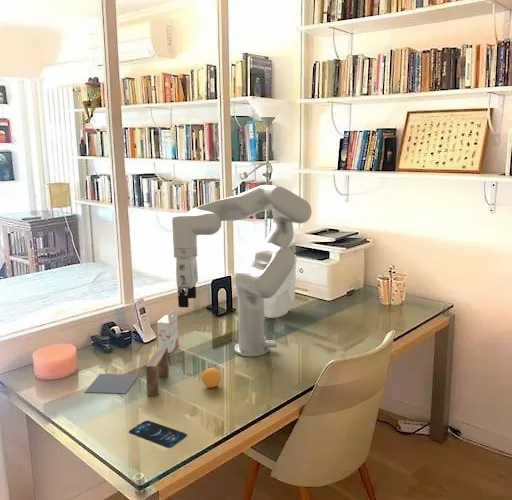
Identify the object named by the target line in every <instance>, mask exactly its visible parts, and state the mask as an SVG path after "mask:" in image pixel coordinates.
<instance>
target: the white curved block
mask: <svg viewBox="0 0 512 500" xmlns="http://www.w3.org/2000/svg"><path fill="white" fill-rule="evenodd" d="M294 255H295V263H294V267H293V269H292V271H291V272H290V274H289V275H288V277H287V278H286V280H285V281H284V283H283V284H282V285H281V287H280V288H279V290H278V291H277V292H276V293H275V294H274V295H273V296H272V297H270V298H263V299H264V318H265V317H266V318H269V319H275V318H279V317H283V316H285V315H287V314H288V312H289V310H290V309H291V308H290V307H291V305H292V303H293V301H295V296H296V295H295V293H296V269H297V254H294ZM249 266H254V267H257V268H260V269H263V270H265V268H262V267H260V266H259V265H258V264H257V263H256V262H255V255H253V257H252V259H251V261H250V264H249ZM232 289H233V291H234V292H235V294H237V291H236V286H235V285H234V286H233V288H232Z"/></svg>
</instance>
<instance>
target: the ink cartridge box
mask: <svg viewBox="0 0 512 500" xmlns="http://www.w3.org/2000/svg"><path fill="white" fill-rule="evenodd" d="M156 326H157V342H158V347H168V354H171V353H172V352H173V351H174V350H175V349H176V347H178V346H179V332H178V330H179V328H178V327H179V326H178V313H177V308H175V307H174V309H173V310H171V311H170V312H169V313H168V314H165V315H164V316H162V317H161V318H160V319H159V320H158V321H157V322H156Z"/></svg>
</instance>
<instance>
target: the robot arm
mask: <svg viewBox="0 0 512 500" xmlns="http://www.w3.org/2000/svg"><path fill="white" fill-rule="evenodd" d="M266 210H269V211H270V210H271V213H272V221H273V224H272V228H271V230H270V232H269V234H268V235H267V236H266V238H265V239H264V240H263V241H262V243H261V245H260V246H259V247H258V249H257V251H256V252H255V254H254V256H255V262H256V263H257V264H258V265H259V266H260V267H262V268H265V270H263V269H260V268H257V267H254V266H250V265H245V266H241V267H240V268H239V269H238V270H237V272H236V274H235V277H234V286H236V291H237V293H236V294H237V296H236V297H237V318H238V319H237V325H238V333H237V335H238V340H237V341H238V343H237V344H235V346H234V353H236V354H237V355H240V356H243V357H250V358H251V357H253V358H254V357H260V356H263V355H265V354H267V353H269V350H270V348H275V349H276V348H277V342H275V341H274V339H273V340H272V339H271V340H269V339H267V338H266V335H265V316H264V299H263V298H270V297H272V296H273V295H274V294H275V293H276V292H277V291H278V290H279V288H280V287H281V285H282V284H283V283H284V281H285V280H286V278H287V277H288V275H289V274H290V272H291V271H292V269H293V267H294V263H295V255H296V254H295V253H294V251H293V250H292V249H291V248H290V245H291V243H292V241H293V239H294V225H293V223H294V224H299V225H300V224H304V223H307V222H308V221H309V220H310V219H311V216H312V207H311V205H310V203H309V202H308V201H307V200H305V199H304V198H302V197H301V196H299V195H297V194H296V193H294V192H292V191H291V190H289V189H288V188H285V187H284V186H279V185H272V184H271V185H270V184H262V185H259V186H256V187H254V188H251V189H249V190H247V191H244V192H241V193H239V194H237V195H233V196H229V197H226V198H223V199H217V200H214V201H210V202H207V203H204V204H201V205H199V206H196V207H194V208H192V209H191V210H189V211H188V212H187V213H175V214H174V215H173V216H172V218H171V219H172V220H171V221H172V223H171V224H172V242H173V243H172V244H173V257H174V259H176V260H175V261H176V262H175V264H176V265H175V269H176V270H175V271H176V273H175V274H176V275H175V277H176V286H177V301H178V303H177V304H178V307H179V308H189V304H190V303H189V299H196V298H197V289H196V285H197V283H198V281H199V274H198V272H199V271H198V263H197V262H198V260H197V257H198V245H197V244H198V243H197V242H198V238H197V236H202V235H203V236H210V235H214V234H217V233H218V232H219V231H220V230H221V227H222V222H226V221H229V222H230V221H232V222H233V221H241V220H242V221H243V220H245V219H247V218H250V217H252V216H254V215H257V214H259V213H261V212H264V211H266Z"/></svg>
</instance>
